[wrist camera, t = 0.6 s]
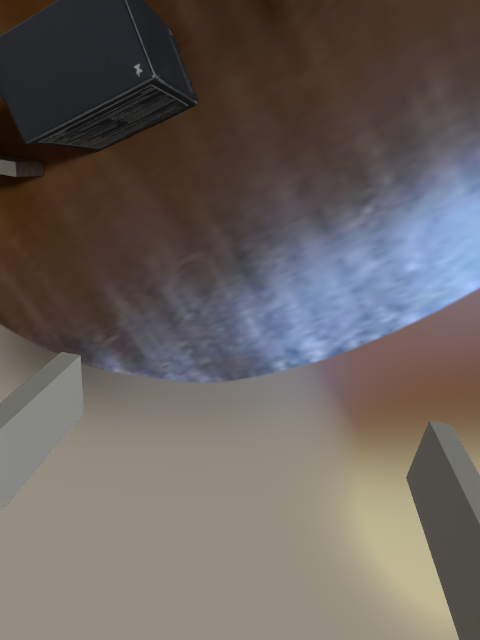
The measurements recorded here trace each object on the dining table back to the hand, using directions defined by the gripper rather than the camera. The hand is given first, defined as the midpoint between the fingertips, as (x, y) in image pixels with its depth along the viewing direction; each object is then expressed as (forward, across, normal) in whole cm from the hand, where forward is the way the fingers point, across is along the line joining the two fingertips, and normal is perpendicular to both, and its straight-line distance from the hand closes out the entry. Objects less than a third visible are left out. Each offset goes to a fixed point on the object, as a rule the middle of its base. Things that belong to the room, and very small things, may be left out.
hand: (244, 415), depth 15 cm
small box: (+25, -15, +12) cm, 32 cm away
